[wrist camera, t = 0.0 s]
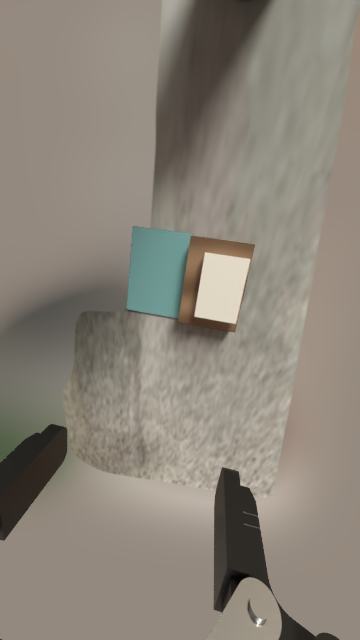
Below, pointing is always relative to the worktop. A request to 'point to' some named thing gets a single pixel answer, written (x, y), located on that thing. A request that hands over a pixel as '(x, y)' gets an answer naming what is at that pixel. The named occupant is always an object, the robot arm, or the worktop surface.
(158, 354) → the worktop surface
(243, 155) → the worktop surface
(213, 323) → the board
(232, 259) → the tile
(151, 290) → the mat
